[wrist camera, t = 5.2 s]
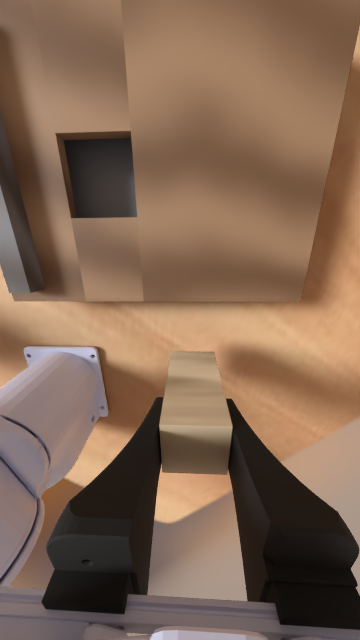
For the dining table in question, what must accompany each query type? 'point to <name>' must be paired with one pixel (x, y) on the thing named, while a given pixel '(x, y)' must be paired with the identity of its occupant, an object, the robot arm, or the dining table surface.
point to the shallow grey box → (102, 177)
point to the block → (194, 416)
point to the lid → (170, 143)
